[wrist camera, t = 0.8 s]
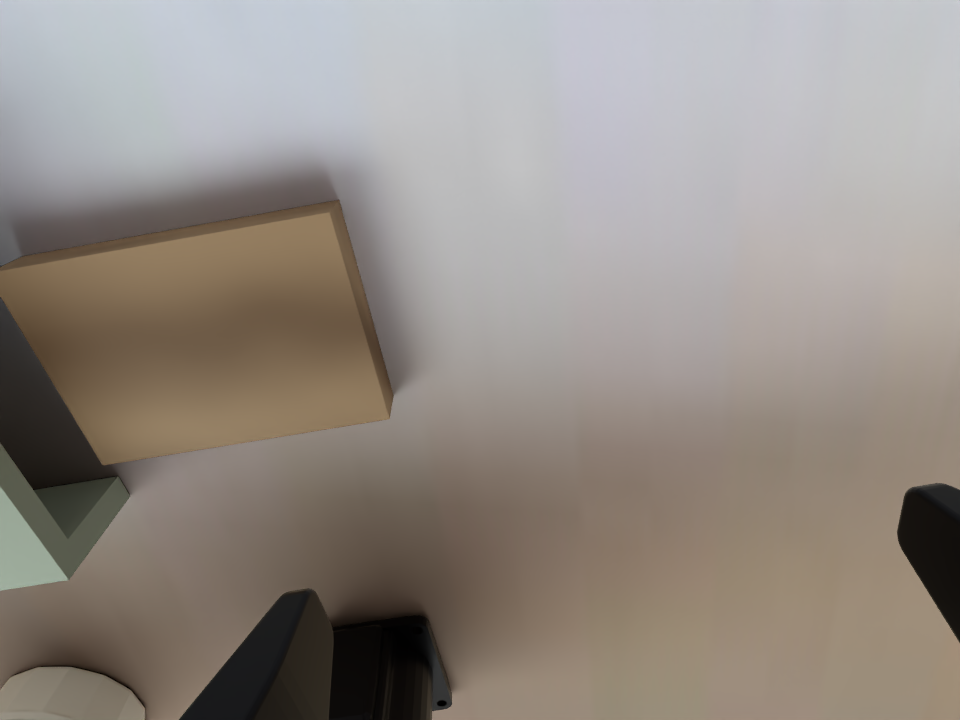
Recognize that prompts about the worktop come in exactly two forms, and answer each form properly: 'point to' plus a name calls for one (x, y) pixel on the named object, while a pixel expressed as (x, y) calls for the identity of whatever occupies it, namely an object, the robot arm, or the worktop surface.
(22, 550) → the green channel beam
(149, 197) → the worktop surface
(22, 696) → the white cup
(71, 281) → the board
